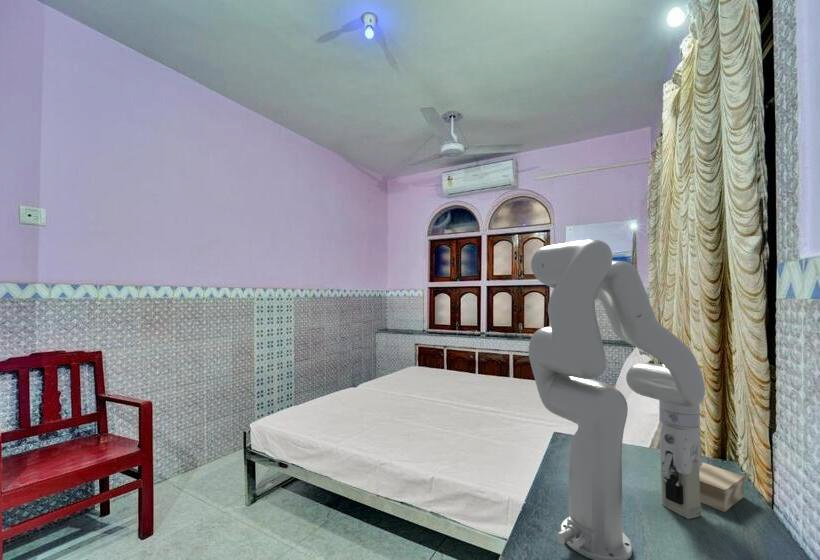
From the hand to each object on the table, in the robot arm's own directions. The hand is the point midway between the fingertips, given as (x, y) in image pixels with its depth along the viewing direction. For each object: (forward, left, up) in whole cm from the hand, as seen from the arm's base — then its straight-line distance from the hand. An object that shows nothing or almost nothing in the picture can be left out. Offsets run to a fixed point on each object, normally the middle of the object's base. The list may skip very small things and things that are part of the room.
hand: (680, 496), depth 83 cm
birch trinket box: (+14, -1, -3) cm, 14 cm away
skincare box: (0, 0, -3) cm, 3 cm away
